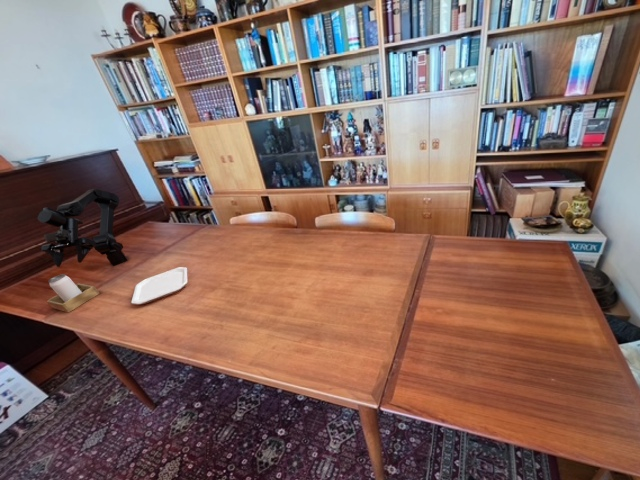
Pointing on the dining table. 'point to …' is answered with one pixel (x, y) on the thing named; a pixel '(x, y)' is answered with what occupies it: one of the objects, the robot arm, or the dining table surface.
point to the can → (64, 287)
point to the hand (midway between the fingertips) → (68, 264)
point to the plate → (160, 286)
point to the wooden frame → (74, 298)
